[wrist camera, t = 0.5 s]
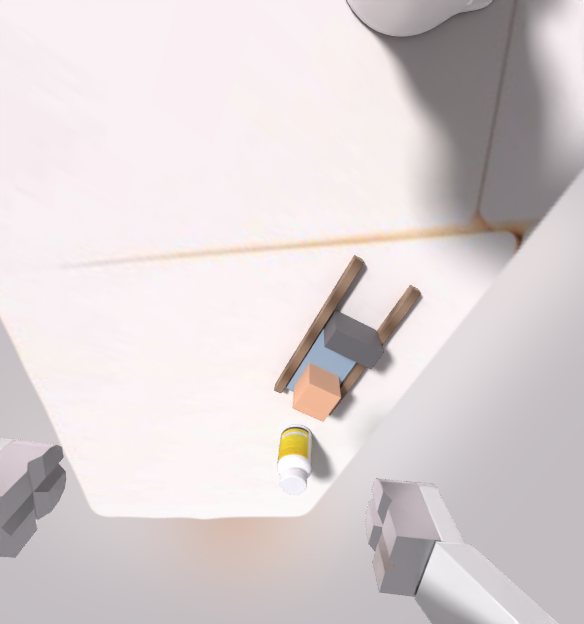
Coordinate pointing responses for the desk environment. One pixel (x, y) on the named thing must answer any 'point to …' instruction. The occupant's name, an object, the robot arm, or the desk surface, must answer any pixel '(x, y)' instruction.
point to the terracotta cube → (316, 392)
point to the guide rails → (324, 315)
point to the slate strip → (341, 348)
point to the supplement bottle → (295, 458)
